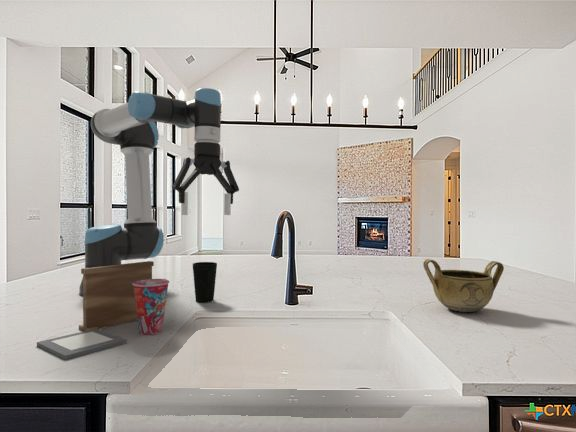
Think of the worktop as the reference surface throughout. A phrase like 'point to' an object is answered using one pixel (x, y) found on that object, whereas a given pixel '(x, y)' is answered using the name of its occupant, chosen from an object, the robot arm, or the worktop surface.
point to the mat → (81, 343)
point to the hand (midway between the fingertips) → (206, 215)
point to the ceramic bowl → (464, 286)
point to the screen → (111, 294)
